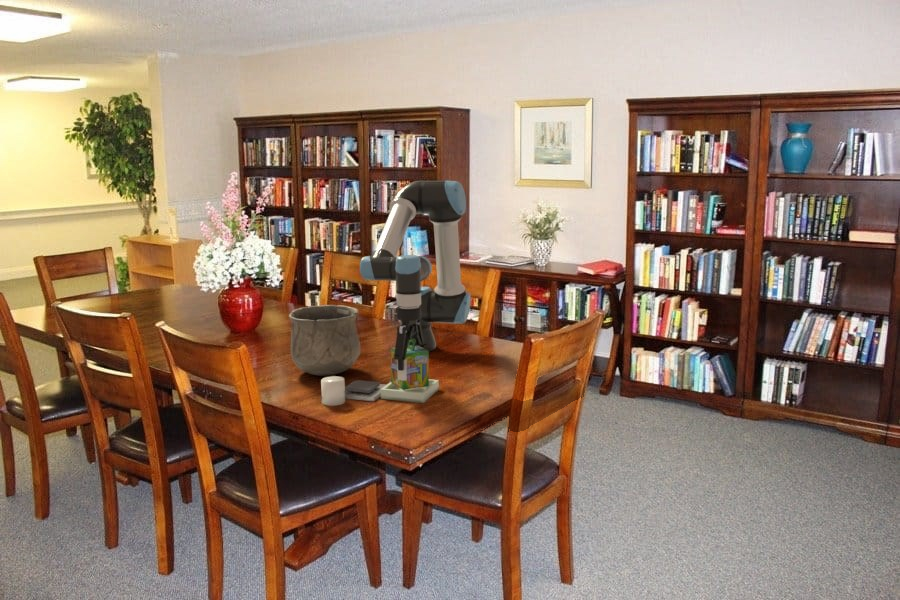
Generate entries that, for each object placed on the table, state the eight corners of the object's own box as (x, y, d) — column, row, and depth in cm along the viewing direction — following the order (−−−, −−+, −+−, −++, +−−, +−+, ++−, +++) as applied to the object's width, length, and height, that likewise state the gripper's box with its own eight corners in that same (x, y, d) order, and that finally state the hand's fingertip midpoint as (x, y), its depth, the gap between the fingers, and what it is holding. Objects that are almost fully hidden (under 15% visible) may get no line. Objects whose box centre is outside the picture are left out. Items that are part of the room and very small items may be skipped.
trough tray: (397, 385, 250) (397, 376, 249) (438, 389, 245) (438, 380, 245) (380, 398, 237) (380, 389, 236) (423, 403, 232) (423, 393, 232)
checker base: (353, 384, 250) (352, 379, 250) (390, 388, 246) (390, 382, 246) (335, 397, 238) (334, 391, 238) (373, 401, 234) (373, 395, 234)
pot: (277, 371, 265) (274, 310, 261) (336, 359, 280) (334, 301, 276) (314, 388, 247) (312, 323, 242) (375, 374, 261) (374, 312, 257)
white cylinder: (328, 397, 238) (327, 375, 237) (349, 399, 236) (348, 377, 235) (317, 404, 232) (316, 382, 230) (338, 406, 230) (338, 384, 228)
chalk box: (390, 383, 242) (389, 337, 239) (416, 378, 246) (415, 333, 243) (403, 391, 234) (402, 343, 231) (430, 386, 239) (429, 339, 236)
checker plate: (356, 383, 247) (356, 380, 247) (379, 385, 244) (379, 382, 244) (345, 390, 239) (345, 387, 239) (369, 393, 237) (369, 389, 237)
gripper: (411, 298, 248) (412, 362, 252) (381, 313, 225) (383, 384, 229) (433, 299, 246) (434, 364, 250) (405, 315, 223) (406, 386, 227)
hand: (409, 374), depth 240 cm, fingers closed on chalk box, 12 cm apart
